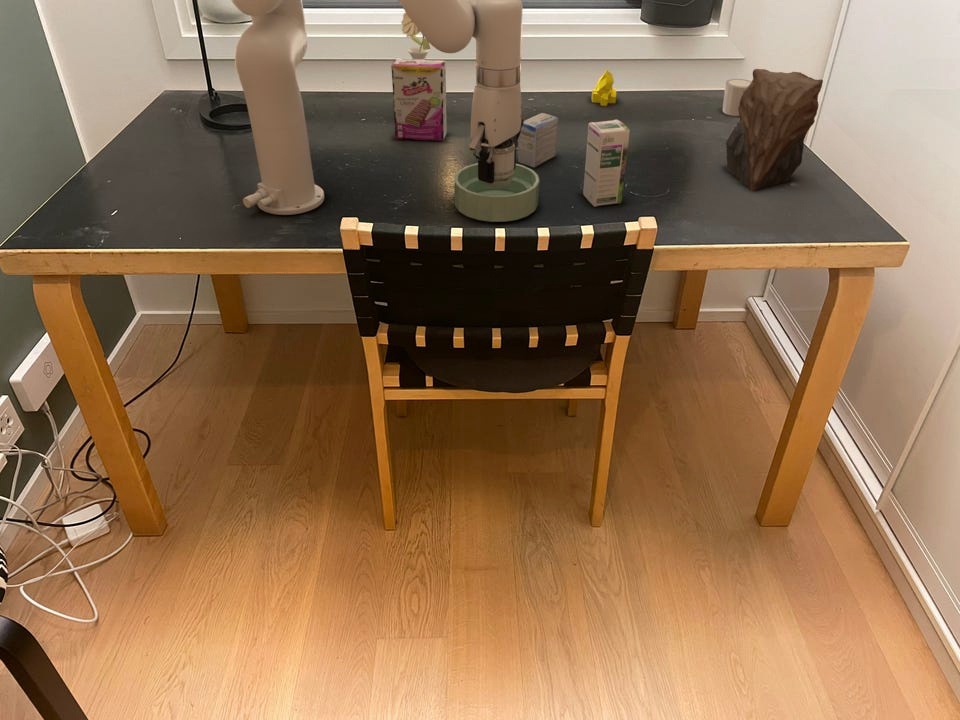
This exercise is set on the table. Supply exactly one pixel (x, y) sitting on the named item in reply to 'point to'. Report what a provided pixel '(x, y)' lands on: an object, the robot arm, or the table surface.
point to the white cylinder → (734, 95)
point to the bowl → (496, 195)
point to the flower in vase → (414, 38)
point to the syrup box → (605, 162)
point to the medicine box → (538, 140)
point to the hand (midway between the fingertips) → (496, 173)
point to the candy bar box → (419, 99)
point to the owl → (772, 127)
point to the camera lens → (502, 163)
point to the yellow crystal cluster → (604, 90)
